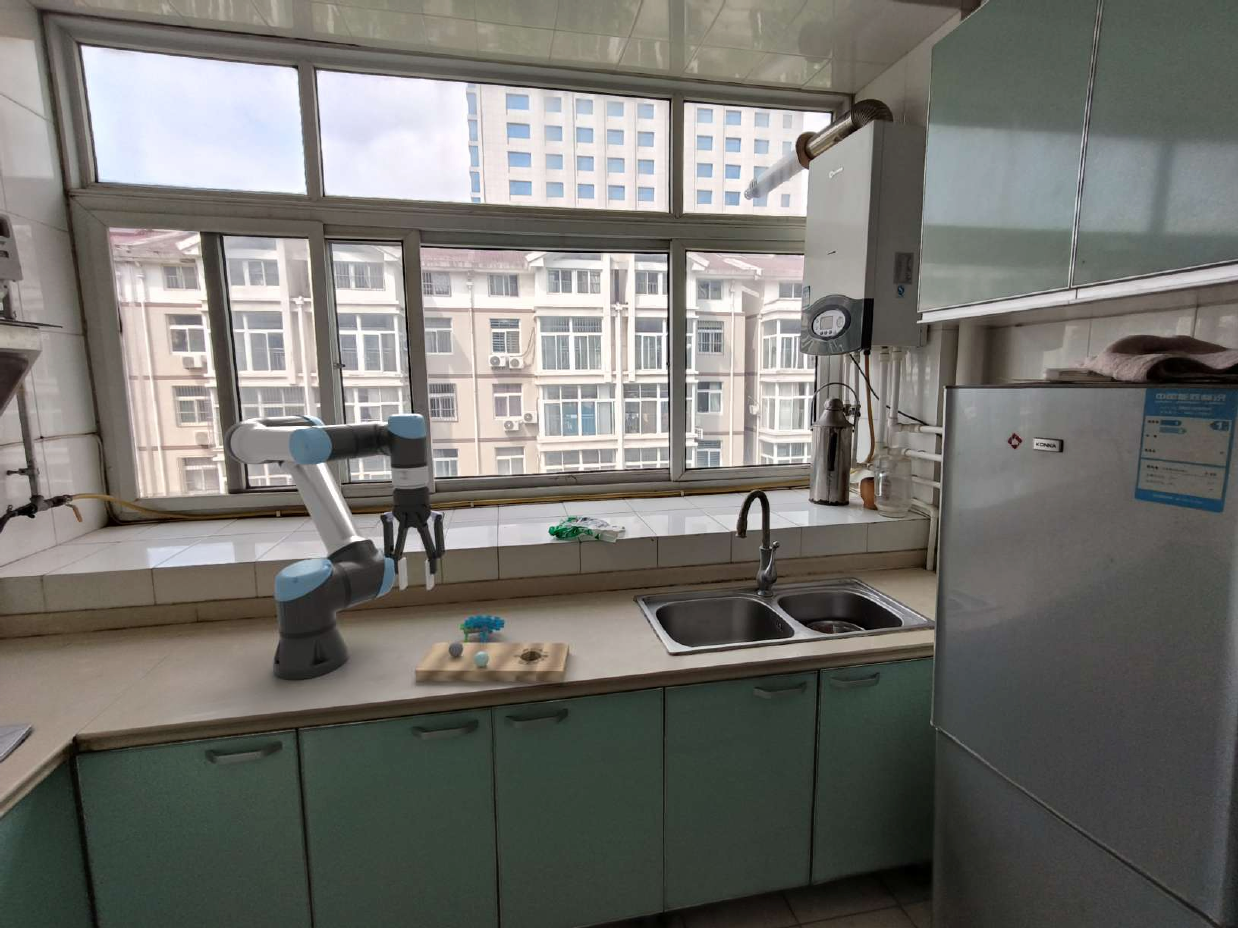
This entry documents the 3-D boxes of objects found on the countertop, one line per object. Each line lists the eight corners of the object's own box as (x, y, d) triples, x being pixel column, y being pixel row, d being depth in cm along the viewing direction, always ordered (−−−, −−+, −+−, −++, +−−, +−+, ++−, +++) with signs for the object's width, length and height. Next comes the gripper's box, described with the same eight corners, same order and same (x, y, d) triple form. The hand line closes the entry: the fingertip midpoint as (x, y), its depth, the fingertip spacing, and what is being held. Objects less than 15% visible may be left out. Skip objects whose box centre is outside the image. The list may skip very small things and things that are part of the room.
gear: (510, 624, 149) (498, 610, 141) (508, 647, 145) (496, 633, 137) (468, 629, 150) (454, 615, 142) (466, 652, 146) (451, 638, 138)
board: (415, 680, 125) (415, 670, 124) (435, 652, 138) (435, 642, 137) (562, 681, 124) (562, 670, 124) (569, 652, 137) (569, 642, 137)
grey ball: (447, 659, 129) (446, 645, 129) (451, 652, 132) (450, 639, 132) (461, 659, 129) (460, 645, 129) (465, 652, 132) (464, 639, 132)
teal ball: (472, 669, 125) (471, 655, 124) (476, 662, 128) (475, 648, 127) (487, 669, 124) (486, 655, 124) (490, 662, 128) (490, 648, 127)
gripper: (360, 488, 121) (368, 593, 125) (447, 488, 121) (452, 594, 124) (376, 482, 129) (383, 581, 132) (457, 482, 128) (462, 581, 132)
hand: (417, 587), depth 128 cm, fingers open, 5 cm apart
